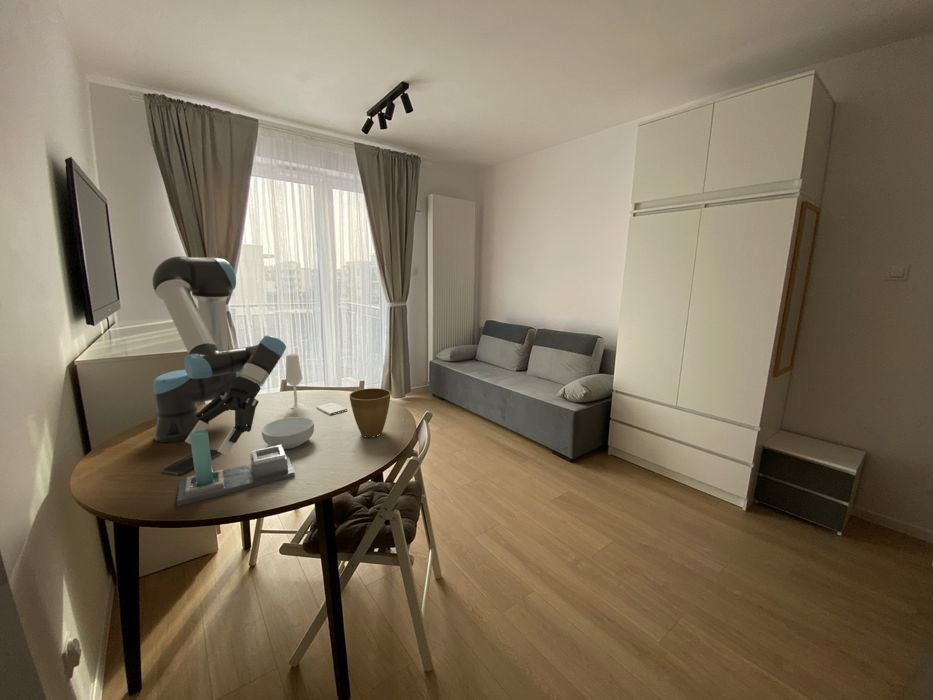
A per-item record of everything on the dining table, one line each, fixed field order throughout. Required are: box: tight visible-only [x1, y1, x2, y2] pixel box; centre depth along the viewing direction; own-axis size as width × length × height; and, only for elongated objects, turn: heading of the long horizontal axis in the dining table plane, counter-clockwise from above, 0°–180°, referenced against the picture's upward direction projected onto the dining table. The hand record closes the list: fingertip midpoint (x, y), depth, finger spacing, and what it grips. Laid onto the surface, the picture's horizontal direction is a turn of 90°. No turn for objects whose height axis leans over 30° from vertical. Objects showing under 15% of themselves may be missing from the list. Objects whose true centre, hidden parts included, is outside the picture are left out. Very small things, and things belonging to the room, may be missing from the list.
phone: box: [162, 448, 222, 476], centre depth 120 cm, size 8×1×15 cm
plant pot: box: [349, 387, 392, 438], centre depth 142 cm, size 15×15×16 cm
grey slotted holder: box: [176, 445, 296, 507], centre depth 109 cm, size 28×12×7 cm, turn 123°
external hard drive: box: [315, 402, 348, 416], centre depth 168 cm, size 2×8×12 cm
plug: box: [190, 430, 214, 487], centre depth 104 cm, size 4×4×15 cm
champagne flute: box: [285, 353, 305, 409], centre depth 169 cm, size 7×7×24 cm
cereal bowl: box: [261, 416, 315, 450], centre depth 133 cm, size 17×17×7 cm
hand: (205, 448), depth 104 cm, fingers open, 13 cm apart
